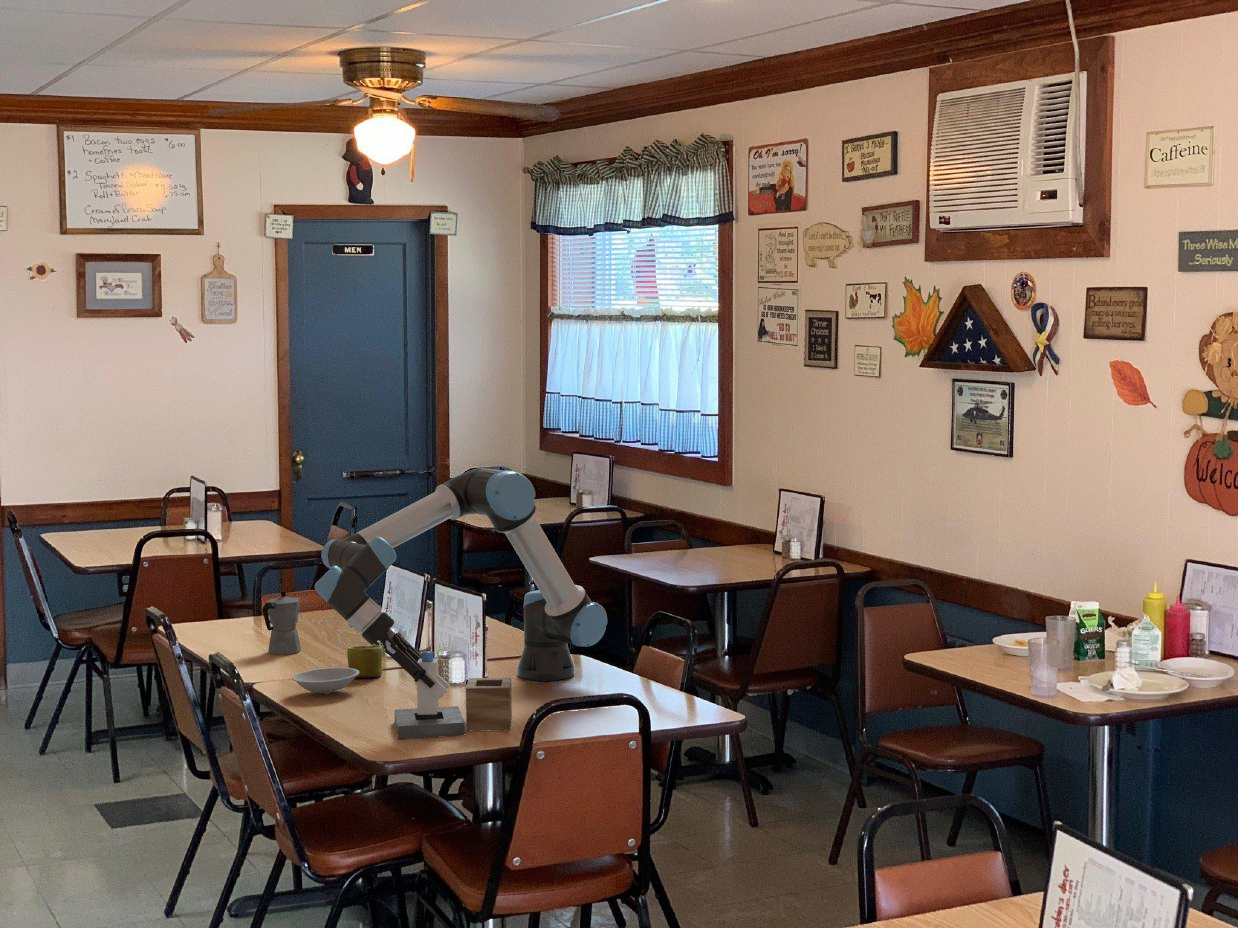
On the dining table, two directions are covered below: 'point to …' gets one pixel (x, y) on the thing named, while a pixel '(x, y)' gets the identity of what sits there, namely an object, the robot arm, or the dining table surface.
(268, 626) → the coffeepot
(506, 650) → the dining table surface
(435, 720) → the lower socket
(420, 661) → the plug
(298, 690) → the dining table surface
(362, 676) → the mug
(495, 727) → the upper socket
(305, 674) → the dish
